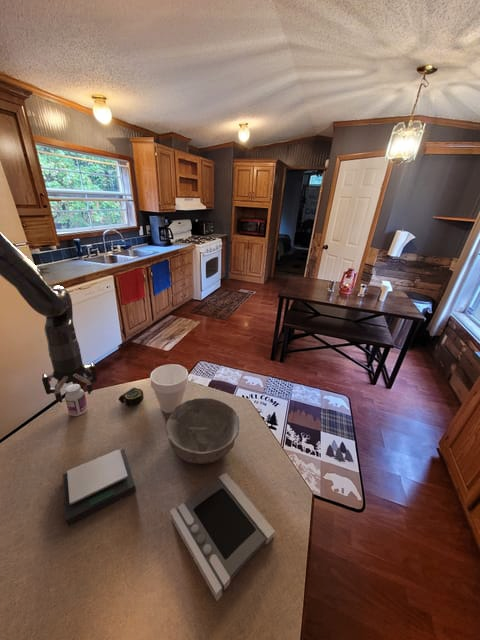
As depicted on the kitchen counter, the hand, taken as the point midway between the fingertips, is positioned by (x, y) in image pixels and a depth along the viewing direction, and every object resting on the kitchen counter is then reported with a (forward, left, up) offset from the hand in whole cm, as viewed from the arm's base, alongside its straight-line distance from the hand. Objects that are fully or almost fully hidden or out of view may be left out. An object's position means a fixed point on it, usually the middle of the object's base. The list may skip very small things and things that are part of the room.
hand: (75, 396), depth 82 cm
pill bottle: (0, 0, -6) cm, 6 cm away
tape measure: (+16, -4, -6) cm, 18 cm away
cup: (+27, -13, -6) cm, 31 cm away
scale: (+2, -31, -6) cm, 32 cm away
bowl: (+29, -34, -6) cm, 45 cm away
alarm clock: (+23, -55, -6) cm, 60 cm away
